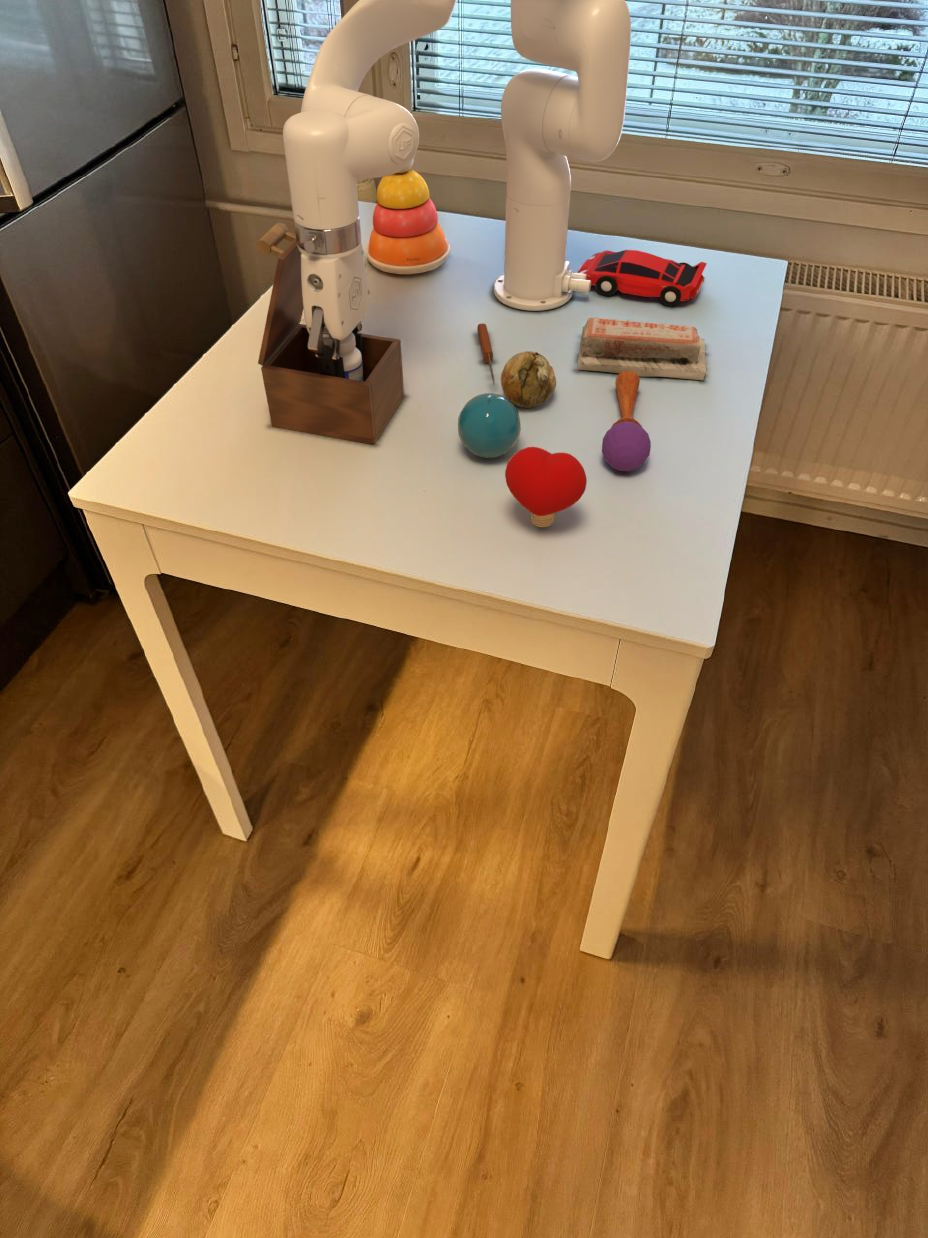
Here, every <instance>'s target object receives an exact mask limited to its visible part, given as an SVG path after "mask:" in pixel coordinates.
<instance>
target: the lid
mask: <svg viewBox="0 0 928 1238" xmlns="http://www.w3.org/2000/svg"><path fill="white" fill-rule="evenodd" d="M284 240H286V241H288V242H291V244H290V245H289V246H288V247H287V248H286V249H285V250H283V249H281V248H279V247H278V246H279V245H280V244H281V243H282V242H283V241H284ZM256 249H257V251H258V252H259V253H260V254H261V255H264V256H267V255H270V254H271V255H273V256H276V257H278V258H277V263H276V267H275V274H274V278H273V283H272V288H271V293H270V299H269V304H268V310H267V314H266V320H265V325H264V330H263V335H262V340H261V344H260V345H261V346H260V351H259V354H258V355H259V356H258V361H257V364H258V365H260V366H261V367H262V366H263V365H264V364H265V362H266V361H267V360H268V359H269V358H270V357H271V355H272V354H273V353H274V352H275V351H276V350H277V349H278V347H279V346H280V345H281V344H282V343H283V342H284V340H285V339H286V338H287V337H288V336H289V335H290V333H291V332H292V331H293V330H294V329H295V328H296V326H297V325H298V324H301V321H302V317H303V314H304V308H303V298H302V283H301V254H302V253H301V252H299V250H298V248H297V241H296V234H294V233H292V232H290V231H289V229H288V227H287V226H286V224H285V223H282V222H276V223H275V224H274V225H273V226H272V227H271V228H270V229H269V230H268V231H267V232H266V233H264V235H263V236H261V237H260V239H259V240H257V242H256Z"/></svg>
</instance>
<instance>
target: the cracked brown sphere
mask: <svg viewBox="0 0 928 1238" xmlns="http://www.w3.org/2000/svg"><path fill="white" fill-rule="evenodd" d="M500 384H501V389H502V392H503V394H504V395H505V398H507V399H508V400H509V401H510V402H511V403H512V404H513V405H516V406H518V407H521V408H526V409H531V408H535V407H537V406H540V405H542V404H545V403H546V402H548V401H549V399H550V398H551V396H552V395H554V391H555V389H556V387H557V378H556V374H555V370H554V367H553V366H552V365H551V364H550V362H549V360H548V358H546V357H545V356H544V355H542V354H541V353H539V352H538V351H532V350H531V351H528V350H526V351H523V352H519V353H516V354H515V355H513V356H511V357H510V358H509V360H508V361H506V363H504V365H503V369H502V371H501V374H500Z"/></svg>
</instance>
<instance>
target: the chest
mask: <svg viewBox="0 0 928 1238" xmlns="http://www.w3.org/2000/svg"><path fill="white" fill-rule="evenodd" d="M324 331H326V332H329V331H328V329H327V328H324ZM360 333H361V332H360ZM309 335H310V334H309V332H308V330H307V327H306V324H304V323H299V324H298V325H297V326H296V328H295V329H294V330H293V331H292V332H291V333H290V335H289V336H288V337H287V338H286V339H285V340H284V342H283V343H282V344H281V345H280V346H279V347H278V349H277V350H276V351H275V352H274V353H273V354H272V355H271V357H270V358H269V359H268V360H267V361H266V362H265V364H264V365H263V366H262V365H261V367H260V370H261V376H262V382H263V386H264V387H263V388H264V392H265V396H266V402H267V407H268V413H269V419H270V423H271V427H274V428H278V429H279V428H280V429H286V430H290V431H297V432H302V433H308V434H314V435H318V436H323V437H330V438H334V439H341V440H346V441H351V442H357V443H362V444H366V445H367V444H368V445H372V446H375V444H376V442H377V441H378V439H379V437H380V436H381V435H382V433H383V432H384V430H385V428H386V427H387V425H388V424H389V422H390V420H391V419H392V417H393V416H394V414H395V412H396V411H397V409H398V408H399V406H400V404H401V403H402V401H403V399H404V398H405V389H404V388H405V387H404V371H403V355H402V341H401V339H400V338H393V337H387V336H381V335H375V334H369V333H361V335H362V347H363V361H362V366H363V380H364V382H363V381H357V380H351V379H345V378H339V377H333V376H327V375H321V374H320V372H319V364H318V358H317V357H316V355H315V353H314V352H313V351H311V350H309V349H308V341H309ZM323 343H324V340H323Z"/></svg>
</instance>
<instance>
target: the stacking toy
mask: <svg viewBox="0 0 928 1238" xmlns="http://www.w3.org/2000/svg"><path fill="white" fill-rule="evenodd" d="M414 161H415V157H414V158H413V159H412V161H411V162H410V163H409V164H408V165H407V166H406V167H405V168H404V169H402V170H401V171H399V172H397V173H395V174H392V175H389V176H384V177H381V180H380V181H379V183H378V186H377V189H376V204H375V206H374V209H373V213H372V226H373V228H372V230H371V233H370V236H369V241H368V244H367V246H366V248H365V257H366V259H367V260H368V262H369V263H370V264H371V265H372V266H373V267H375V268H376V269H378V270H379V271H381V272H384V273H389V274H396V275H415V274H416V275H417V274H421V273H426V272H429V271H433V270H436V269H437V268H439V267H440V266H442V265H443V264H444V263H445V262H446V261H447V260H448V258H449V256H450V255H451V245H450V243H449V241H448V240H447V239H446V235H445V232H444V230H443V227H442V226H441V224H440V223H439V216H438V211H437V208H436V206H435V204H434V202H433V200H432V199H431V198H430V190H429V187H428V184H427V183H426V181H425V179H424V178H423V176H422V175H420V173H418V172H417V171H415V170H414V169H411V168H412V167H413V164H414Z"/></svg>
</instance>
